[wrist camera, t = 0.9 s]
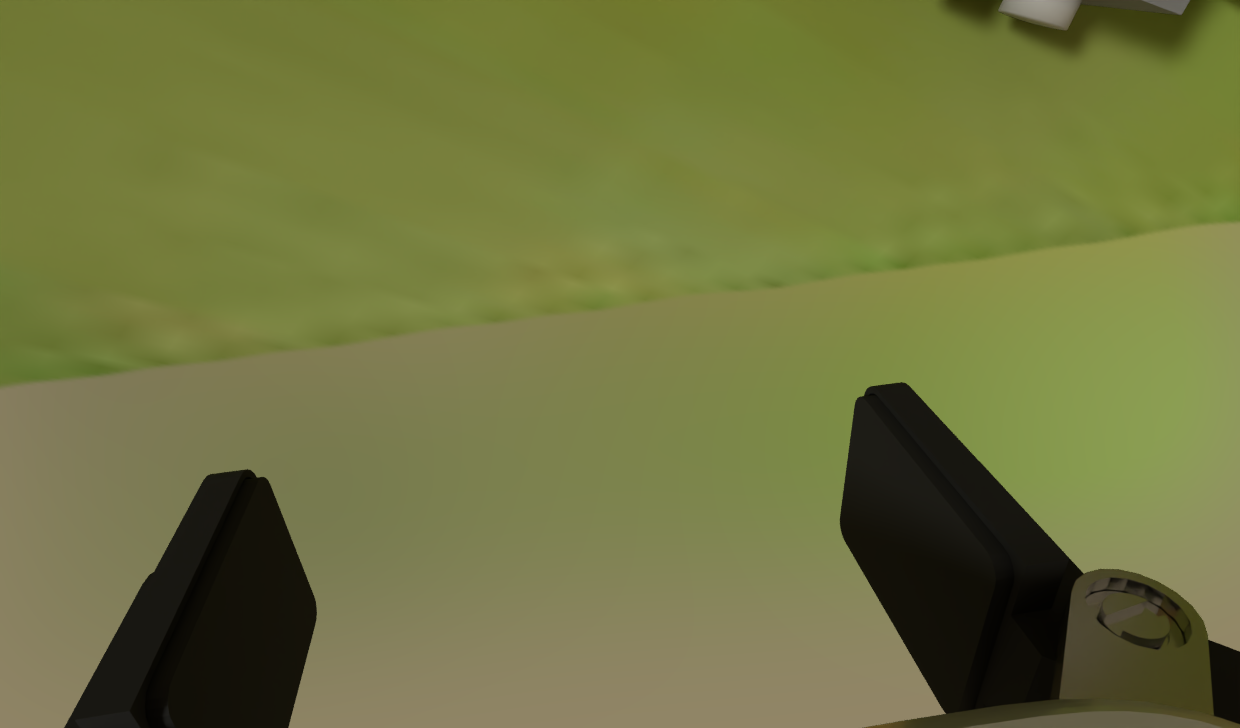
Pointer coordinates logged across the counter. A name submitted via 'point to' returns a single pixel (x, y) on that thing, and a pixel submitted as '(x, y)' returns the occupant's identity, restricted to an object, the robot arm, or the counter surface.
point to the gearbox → (1057, 4)
